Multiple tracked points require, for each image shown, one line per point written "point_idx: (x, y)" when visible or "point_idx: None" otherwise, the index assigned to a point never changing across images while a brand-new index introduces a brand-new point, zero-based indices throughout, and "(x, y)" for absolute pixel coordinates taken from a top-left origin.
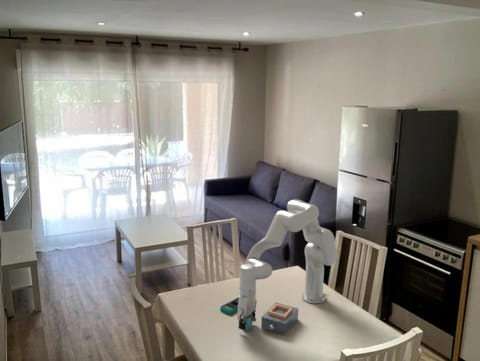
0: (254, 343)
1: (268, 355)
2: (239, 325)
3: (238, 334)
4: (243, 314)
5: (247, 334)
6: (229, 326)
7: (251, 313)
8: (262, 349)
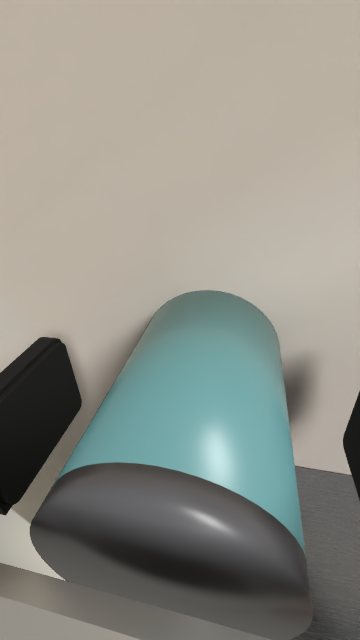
0: (52, 455)
1: (28, 518)
2: (13, 373)
3: (47, 317)
4: (99, 528)
5: (108, 388)
6: (100, 95)
7: (263, 635)
8: (42, 495)
